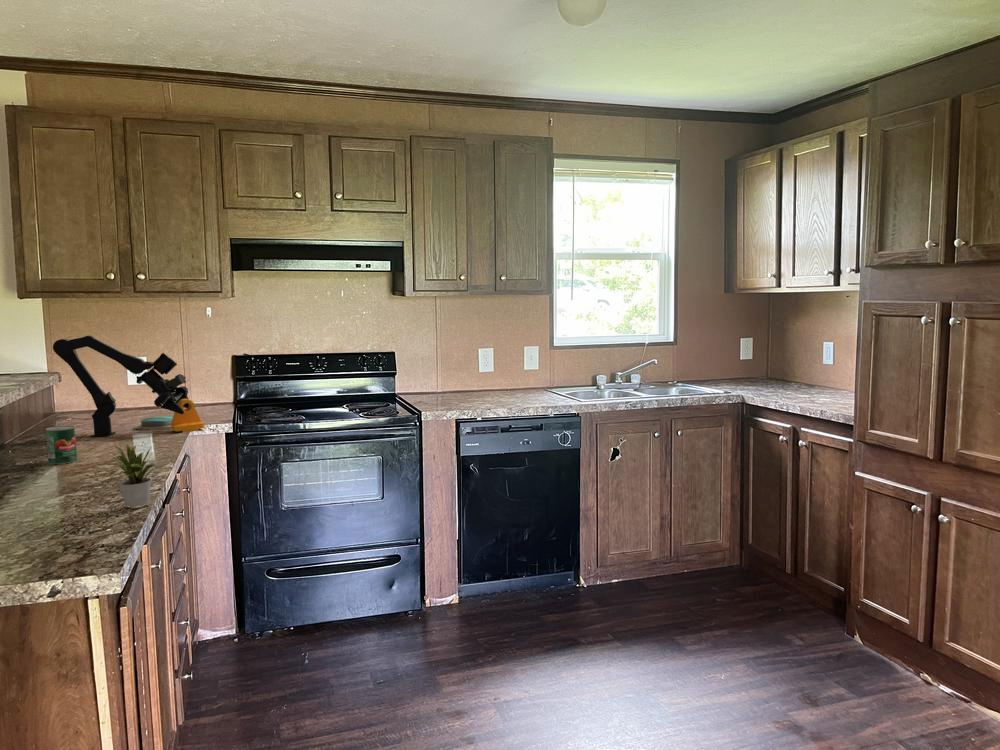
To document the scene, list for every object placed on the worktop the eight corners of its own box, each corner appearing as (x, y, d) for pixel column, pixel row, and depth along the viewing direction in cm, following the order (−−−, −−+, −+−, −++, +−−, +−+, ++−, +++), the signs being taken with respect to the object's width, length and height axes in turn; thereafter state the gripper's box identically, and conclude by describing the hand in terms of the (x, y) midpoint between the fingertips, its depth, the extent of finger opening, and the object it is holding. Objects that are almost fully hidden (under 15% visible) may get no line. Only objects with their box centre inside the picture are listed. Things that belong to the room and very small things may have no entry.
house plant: (85, 511, 181) (80, 444, 179) (132, 496, 194) (127, 434, 192) (130, 516, 176) (125, 448, 174) (175, 500, 189) (171, 437, 187)
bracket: (175, 433, 282) (173, 402, 281) (171, 431, 288) (169, 400, 286) (205, 430, 288) (203, 399, 287) (200, 427, 294) (198, 397, 293)
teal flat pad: (170, 429, 291) (170, 421, 291) (134, 429, 291) (134, 422, 291) (185, 422, 305) (185, 415, 304) (151, 423, 305) (150, 416, 304)
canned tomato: (58, 459, 240) (55, 425, 239) (82, 459, 240) (79, 425, 239) (42, 465, 232) (39, 430, 231) (67, 464, 232) (64, 429, 231)
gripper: (160, 370, 276) (192, 399, 277) (181, 365, 295) (211, 392, 296) (140, 392, 277) (172, 421, 278) (162, 386, 295) (192, 413, 297)
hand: (188, 411), depth 287 cm, fingers open, 9 cm apart
